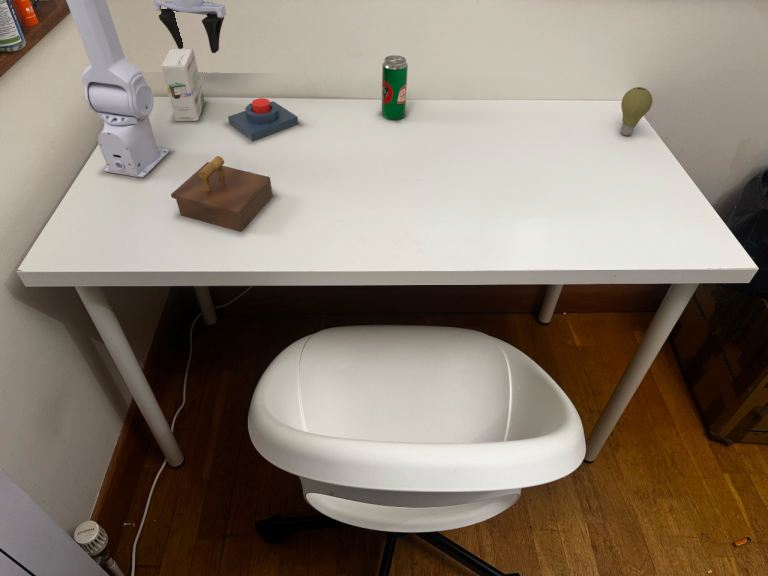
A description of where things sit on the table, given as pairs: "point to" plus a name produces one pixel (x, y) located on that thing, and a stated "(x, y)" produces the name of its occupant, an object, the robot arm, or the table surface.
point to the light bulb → (634, 108)
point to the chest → (227, 218)
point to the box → (262, 121)
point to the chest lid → (221, 187)
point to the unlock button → (261, 105)
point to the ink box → (183, 84)
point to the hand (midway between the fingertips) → (198, 49)
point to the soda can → (394, 87)
